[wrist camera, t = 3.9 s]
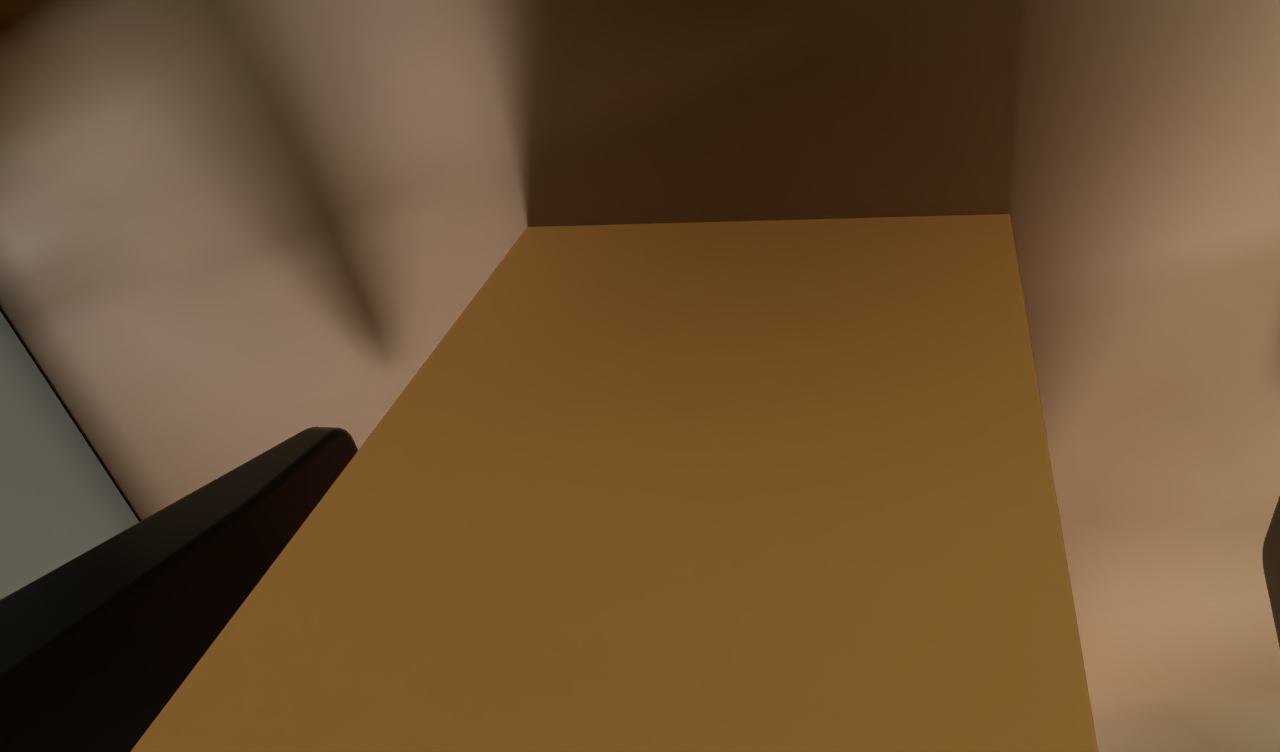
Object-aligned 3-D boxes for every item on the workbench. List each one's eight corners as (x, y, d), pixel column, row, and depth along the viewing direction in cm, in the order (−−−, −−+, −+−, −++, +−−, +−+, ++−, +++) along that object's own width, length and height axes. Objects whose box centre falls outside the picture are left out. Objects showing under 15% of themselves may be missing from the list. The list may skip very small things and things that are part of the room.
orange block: (1009, 212, 8) (1138, 992, 3) (976, 571, 10) (1019, 1293, 6) (528, 225, 9) (104, 784, 4) (606, 540, 12) (390, 1106, 7)
